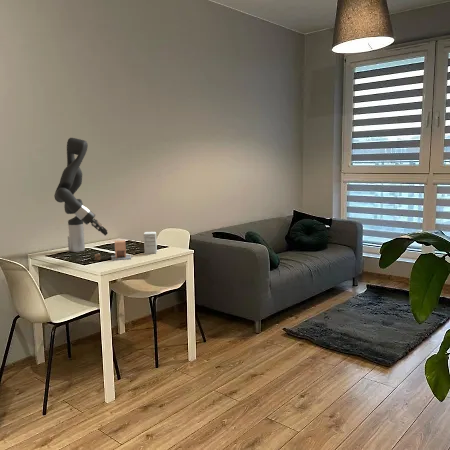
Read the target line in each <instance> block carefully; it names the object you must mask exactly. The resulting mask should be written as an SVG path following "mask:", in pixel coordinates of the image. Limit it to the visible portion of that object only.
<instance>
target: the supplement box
mask: <svg viewBox="0 0 450 450" xmlns="http://www.w3.org/2000/svg"><path fill="white" fill-rule="evenodd" d="M143 245H144V246H143V247H144V249H143V250H144V255H153V254H156V255H157V252H158V248H157V232H156V231H144V233H143Z"/></svg>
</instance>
